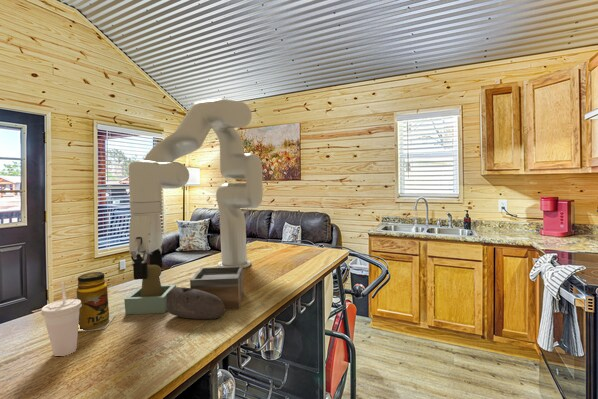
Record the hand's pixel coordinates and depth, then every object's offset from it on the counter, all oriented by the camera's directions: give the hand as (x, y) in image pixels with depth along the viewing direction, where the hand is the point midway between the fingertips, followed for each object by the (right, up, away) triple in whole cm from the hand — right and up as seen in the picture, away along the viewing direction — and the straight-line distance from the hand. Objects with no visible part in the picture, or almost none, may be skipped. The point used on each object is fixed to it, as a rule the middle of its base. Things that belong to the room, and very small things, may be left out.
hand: (149, 273), depth 84 cm
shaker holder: (0, -9, +1) cm, 9 cm away
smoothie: (-7, -11, -21) cm, 24 cm away
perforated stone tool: (+15, -10, -6) cm, 19 cm away
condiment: (-10, -10, -9) cm, 17 cm away
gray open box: (+18, -9, +3) cm, 20 cm away
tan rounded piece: (0, -9, +1) cm, 9 cm away
